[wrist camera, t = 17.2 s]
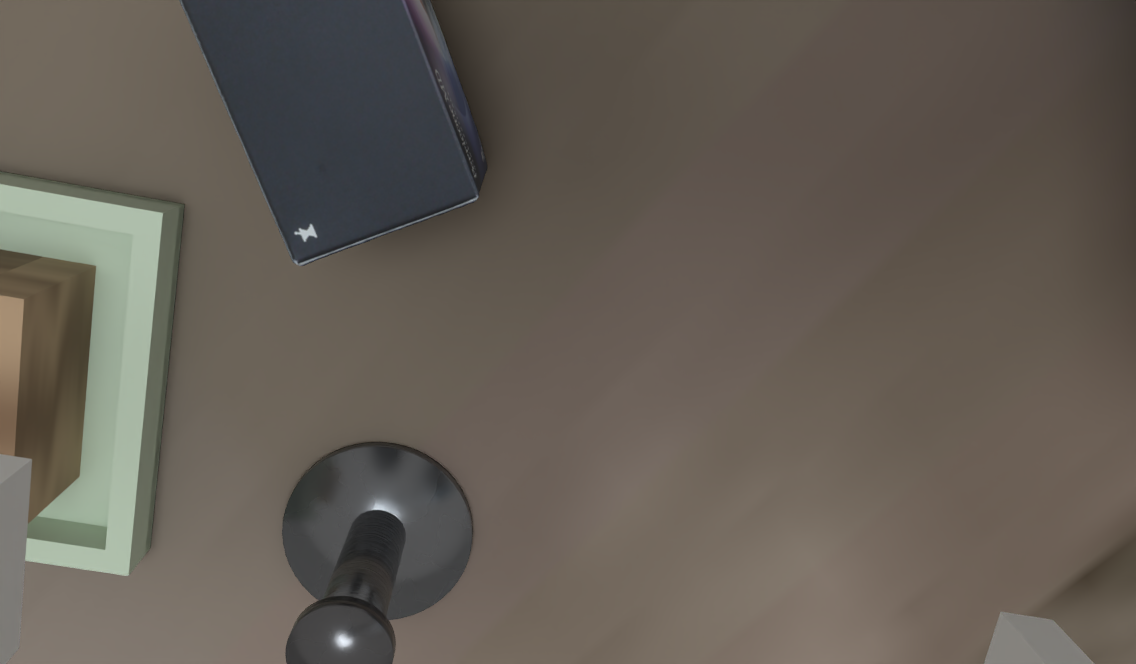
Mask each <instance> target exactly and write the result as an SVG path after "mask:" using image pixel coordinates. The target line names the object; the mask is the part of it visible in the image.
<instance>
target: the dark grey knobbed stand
mask: <svg viewBox="0 0 1136 664" xmlns="http://www.w3.org/2000/svg"><path fill="white" fill-rule="evenodd" d="M472 534H473V529H472V518H471V512H470V508H469V505H468V502H467V500H466V497H465V495H464V493H463V491H462V489H461V488H460V486H459V485H458V483H457V482H456V480H455V479H454V478H453V477H452V476H451V475H450V473H449V472H448V471H447V470H446V469H445V468H443V467H442V466H441V465H440V464H439V463H438V462H436V461H435V460H433V459H432V458H430V457H429V456H427V455H425V454H423V453H421V452H419V451H417V450H414V449H411V448H409V447H406V446H402V445H397V444H392V443H383V442H372V443H362V444H355V445H352V446H348V447H344V448H342V449H340V450H337V451H335V452H332V453H331V454H329V455H327V456H326V457H324V458H322V459H321V460H320V461H318V462H317V463H316V464H314V465H313V466H312V467H311V468H310V469H309V470H308V471H307V472H306V473H305V474H304V476H303V477H302V478H301V480H300V481H299V482H298V484H297V486H296V488H295V489H294V491H293V493H292V495H291V497H290V499H289V501H288V504H287V507H286V509H285V514H284V519H283V529H282V535H283V545H284V549H285V553H286V557H287V559H288V562H289V565H290V567H291V569H292V570H293V572H294V574H295V576H296V577H297V579H298V580H299V581H300V583H301V584H302V585H303V586H304V587H305V589H306V590H307V591H308V592H309V593H310V594H311V595H313V596H314V597H315V598H316V599H318V600H319V601H317V602H315V603H313V604H311V605H310V606H309V607H307V608H306V609H305V610H304V611H303V612H302V613H301V614H300V616H299V617H298V618H297V620H296V622H295V624H294V626H293V628H292V631H291V633H290V636H289V638H288V641H287V645H286V662H287V664H392V662H393V658H394V653H395V646H396V641H395V634H394V631H393V628H392V626H391V624H390V622H389V620H392V619H399V618H404V617H407V616H411V615H414V614H416V613H419V612H421V611H423V610H425V609H427V608H429V607H431V606H432V605H434V604H435V603H437V602H438V601H439V600H441V599H442V598H443V597H444V596H445V595H446V594H447V593H448V592H449V591H451V589H452V588H453V587H454V586H455V584H456V583H457V582H458V580H459V579H460V577H461V575H462V573H463V572H464V569H465V567H466V565H467V562H468V559H469V555H470V551H471V543H472Z"/></svg>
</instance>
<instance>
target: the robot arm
mask: <svg viewBox="0 0 1136 664" xmlns="http://www.w3.org/2000/svg"><path fill="white" fill-rule="evenodd" d="M31 468H32V459H28V458H22V457H16V456H9V455H3V454H0V664H6V663H7V662H8V660H9V659H10V658H11V657H12V656H13V655H14V654H15V652H16V651H17V650H18V649H19V645H20V630H21V616H22V601H23V586H24V571H25V557H26V542H27V527H28V513H29V498H30V483H31ZM984 664H1094V663H1093V662H1092V661H1091V660H1090V659H1089V658H1088V656H1087V655H1086V654H1085V653H1084V652H1083V651H1082V650H1081V649H1080V648H1079V647H1078V646H1077V645H1076V644H1075V643H1074V642H1073V641H1072V640H1071V639H1070V637H1069V636H1068V635H1067V634H1066V633H1065V632H1064V631H1063V630H1062V629H1061V628H1060V627H1059V626H1058V625H1057V624H1056V623H1055V622H1054V621H1053V620H1051V619H1044V618H1038V617H1032V616H1025V615H1019V614H1012V613H1006V612H1000V616H999V619H998V622H997V625H996V628H995V631H994V634H993V637H992V640H991V643H990V647H989V650H988V653H987V656H986V659H985V662H984Z"/></svg>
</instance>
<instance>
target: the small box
mask: <svg viewBox="0 0 1136 664" xmlns="http://www.w3.org/2000/svg"><path fill="white" fill-rule="evenodd" d="M179 1H180V3H181V5H182V8H183V10H184V12H185V14H186V16H187V18H188V21H189V23H190V25H191V28H192V31H193V33H194V35H195V37H196V40H197V42H198V44H199V46H200V49H201V51H202V54H203V56H204V58H205V60H206V63H207V65H208V68H209V70H210V72H211V75H212V77H213V80H214V82H215V84H216V87H217V89H218V91H219V93H220V96H221V98H222V100H223V103H224V105H225V107H226V110H227V112H228V114H229V116H230V118H231V120H232V123H233V125H234V128H235V130H236V132H237V134H238V136H239V138H240V141H241V143H242V145H243V148H244V150H245V153H246V155H247V158H248V160H249V163H250V165H251V167H252V169H253V172H254V174H255V176H256V178H257V181H258V183H259V186H260V188H261V191H262V193H263V195H264V197H265V200H266V202H267V204H268V206H269V209H270V211H271V213H272V215H273V217H274V220H275V223H276V225H277V227H278V228H279V232H280V234H281V236H282V238H283V240H284V243H285V245H286V248H287V250H288V252H289V255H290V257H291V259H292V261H293V262H294V263H295V264H297V265H300V266H305V265H307V264H309V263H311V262H313V261H315V260H318V259H321V258H324V257H327V256H329V255H331V254H334V253H337V252H340V251H342V250H345V249H348V248H350V247H353V246H356V245H359V244H362V243H365V242H368V241H370V240H372V239H375V238H377V237H380V236H382V235H385V234H388V233H391V232H393V231H396V230H400V229H402V228H404V227H408V226H411V225H413V224H416V223H419V222H422V221H424V220H427V219H430V218H432V217H434V216H438V215H441V214H444V213H446V212H449V211H451V210H453V209H456V208H460V207H463V206H465V205H467V204H470V203H474V202H475V201H476V200H477V199H478V197H479V191H480V188H481V185H482V182H483V179H484V176H485V173H486V171H487V163H486V159H485V155H484V152H483V148H482V145H481V142H480V138H479V135H478V131H477V128H476V126H475V123H474V120H473V118H472V115H471V111H470V109H469V106H468V103H467V100H466V97H465V94H464V92H463V89H462V86H461V84H460V81H459V78H458V75H457V72H456V70H455V67H454V64H453V61H452V58H451V56H450V53H449V50H448V47H447V44H446V42H445V39H444V36H443V33H442V31H441V28H440V25H439V23H438V20H437V17H436V15H435V12H434V10H433V7H432V4H431V2H430V0H179Z"/></svg>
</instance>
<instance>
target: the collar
mask: <svg viewBox="0 0 1136 664" xmlns="http://www.w3.org/2000/svg"><path fill="white" fill-rule="evenodd" d="M95 275H96V266H94V265H89V264H83V263H77V262H71V261H65V260H60V259H54V258H48V257H42V256H36V255H31V254H25V253H19V252H13V251H7V250H2V249H0V454H3V455H9V456H16V457H22V458H28V459H32V468H31V483H30V498H29V513H28V523H29V522H31V521H32V520H33V519H34V518H35V517H36V516H37V515H38V514H39V513H40V512H41V511H43V510H44V509H45V508H46V507H47V506H48V505H49V504H50V503H51V502H52V501H53V500H55V499H56V498H57V497H58V496H59V495H60V494H61V493H62V492H63V491H64V490H65V489H67V488H68V487H69V486H70V485H71V484H72V483H73V482H74V481H75V480H76V479H78V478H79V477H80V466H81V453H82V440H83V428H84V415H85V402H86V389H87V377H88V364H89V351H90V339H91V326H92V313H93V301H94V288H95Z"/></svg>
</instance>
